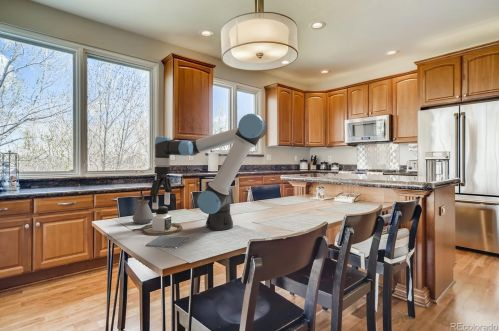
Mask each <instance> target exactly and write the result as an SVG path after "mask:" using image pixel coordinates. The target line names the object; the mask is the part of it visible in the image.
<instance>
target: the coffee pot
mask: <svg viewBox="0 0 499 331" xmlns="http://www.w3.org/2000/svg"><path fill="white" fill-rule="evenodd" d="M140 196H141V199H138V200H137V207H136V209H135V212H134V213H133V215H132V221H133V222H135V224H137V223H138V224H137V225H147V224H149V223H151V222H152V218H153V217H155V216H154V215H153V212H152V210H151V208H150V205H149V203H150V200H149V199H145V193H141V195H140ZM146 223H147V224H146Z"/></svg>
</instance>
